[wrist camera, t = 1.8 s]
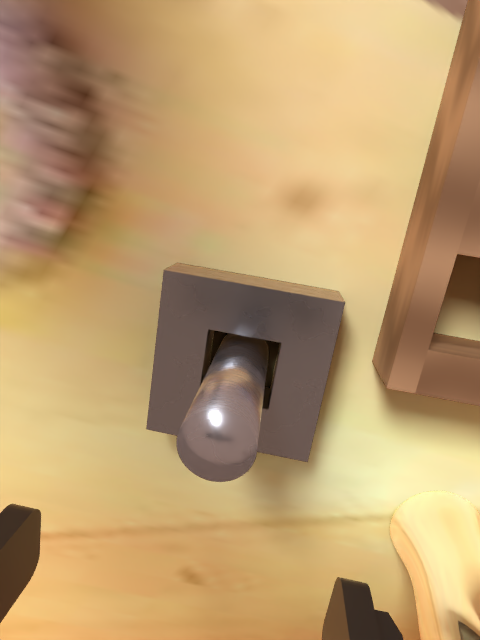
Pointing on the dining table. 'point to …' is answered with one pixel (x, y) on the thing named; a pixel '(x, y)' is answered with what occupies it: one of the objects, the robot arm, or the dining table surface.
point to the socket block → (252, 321)
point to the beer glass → (441, 562)
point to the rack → (439, 243)
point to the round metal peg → (226, 412)
